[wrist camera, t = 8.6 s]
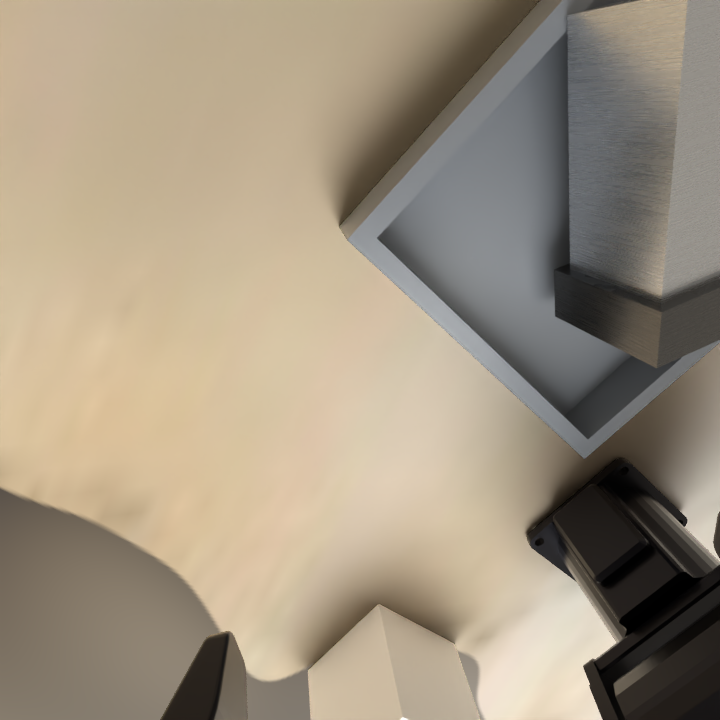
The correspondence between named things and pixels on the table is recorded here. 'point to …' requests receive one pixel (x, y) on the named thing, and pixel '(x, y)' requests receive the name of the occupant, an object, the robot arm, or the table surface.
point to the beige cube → (390, 674)
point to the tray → (507, 237)
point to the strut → (644, 177)
